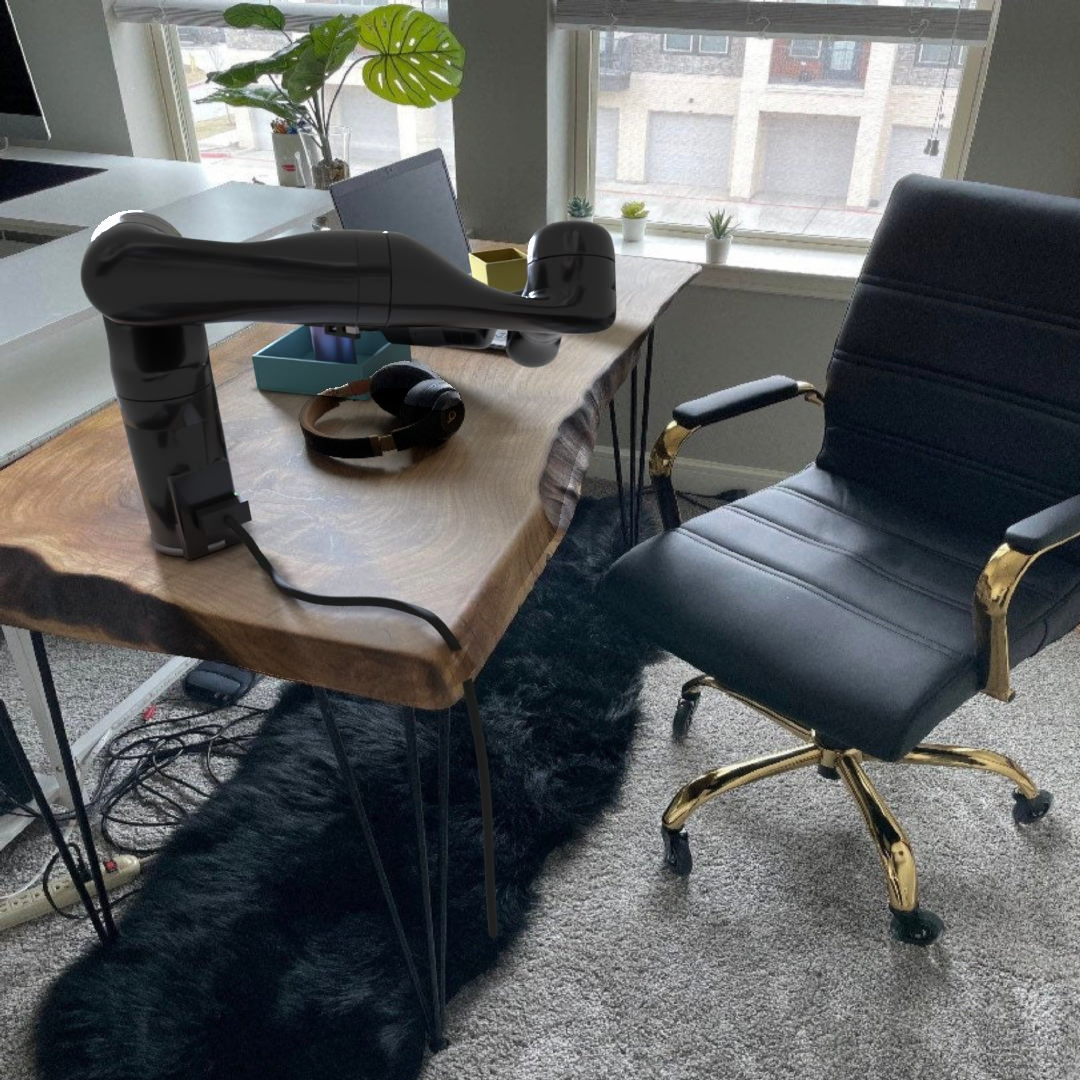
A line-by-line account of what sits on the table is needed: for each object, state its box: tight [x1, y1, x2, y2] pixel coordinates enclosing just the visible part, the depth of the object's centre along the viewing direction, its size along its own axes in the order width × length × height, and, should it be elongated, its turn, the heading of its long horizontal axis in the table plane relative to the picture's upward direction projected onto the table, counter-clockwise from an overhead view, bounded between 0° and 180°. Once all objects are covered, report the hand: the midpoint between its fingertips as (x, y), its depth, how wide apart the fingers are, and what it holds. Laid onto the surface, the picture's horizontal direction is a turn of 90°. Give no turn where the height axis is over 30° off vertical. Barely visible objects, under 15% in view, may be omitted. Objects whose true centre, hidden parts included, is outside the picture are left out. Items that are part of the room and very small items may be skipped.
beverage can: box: [310, 326, 357, 365], centre depth 143 cm, size 6×6×15 cm
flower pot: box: [468, 246, 528, 292], centre depth 172 cm, size 9×9×9 cm
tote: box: [251, 325, 413, 401], centre depth 146 cm, size 17×16×5 cm
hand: (313, 310), depth 143 cm, fingers closed on beverage can, 5 cm apart
